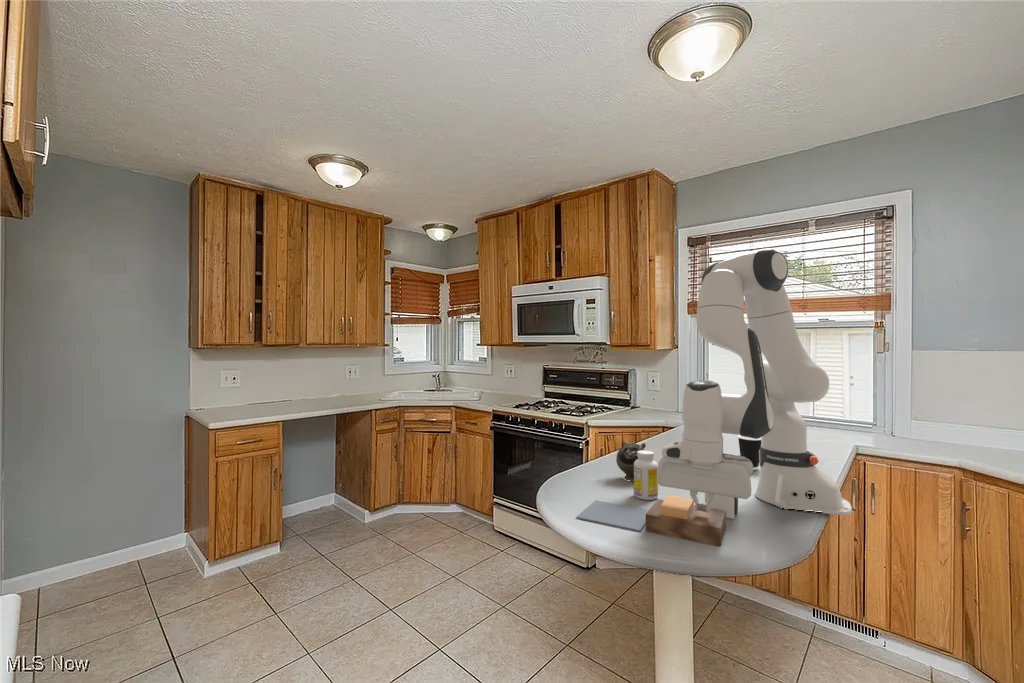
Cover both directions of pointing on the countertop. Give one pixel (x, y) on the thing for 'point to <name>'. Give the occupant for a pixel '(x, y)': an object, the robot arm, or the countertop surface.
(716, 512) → the wooden block
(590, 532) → the countertop surface
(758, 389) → the robot arm
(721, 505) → the medicine bottle
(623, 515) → the mat
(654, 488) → the supplement bottle
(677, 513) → the tile
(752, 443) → the dixie cup
